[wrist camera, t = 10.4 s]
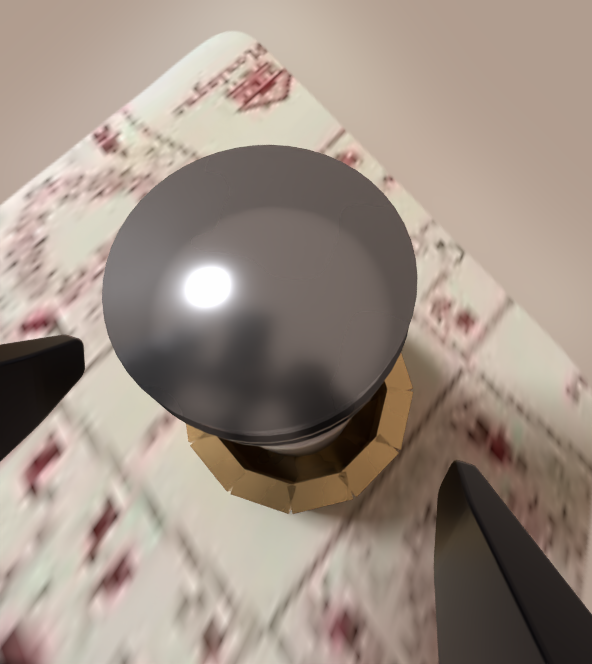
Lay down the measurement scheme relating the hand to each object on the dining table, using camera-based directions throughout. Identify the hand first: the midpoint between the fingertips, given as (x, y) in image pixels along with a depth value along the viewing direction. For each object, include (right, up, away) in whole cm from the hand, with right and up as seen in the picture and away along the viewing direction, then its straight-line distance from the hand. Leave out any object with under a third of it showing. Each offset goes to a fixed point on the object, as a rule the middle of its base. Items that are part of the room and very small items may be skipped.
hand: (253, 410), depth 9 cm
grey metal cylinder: (+1, -1, +9) cm, 10 cm away
